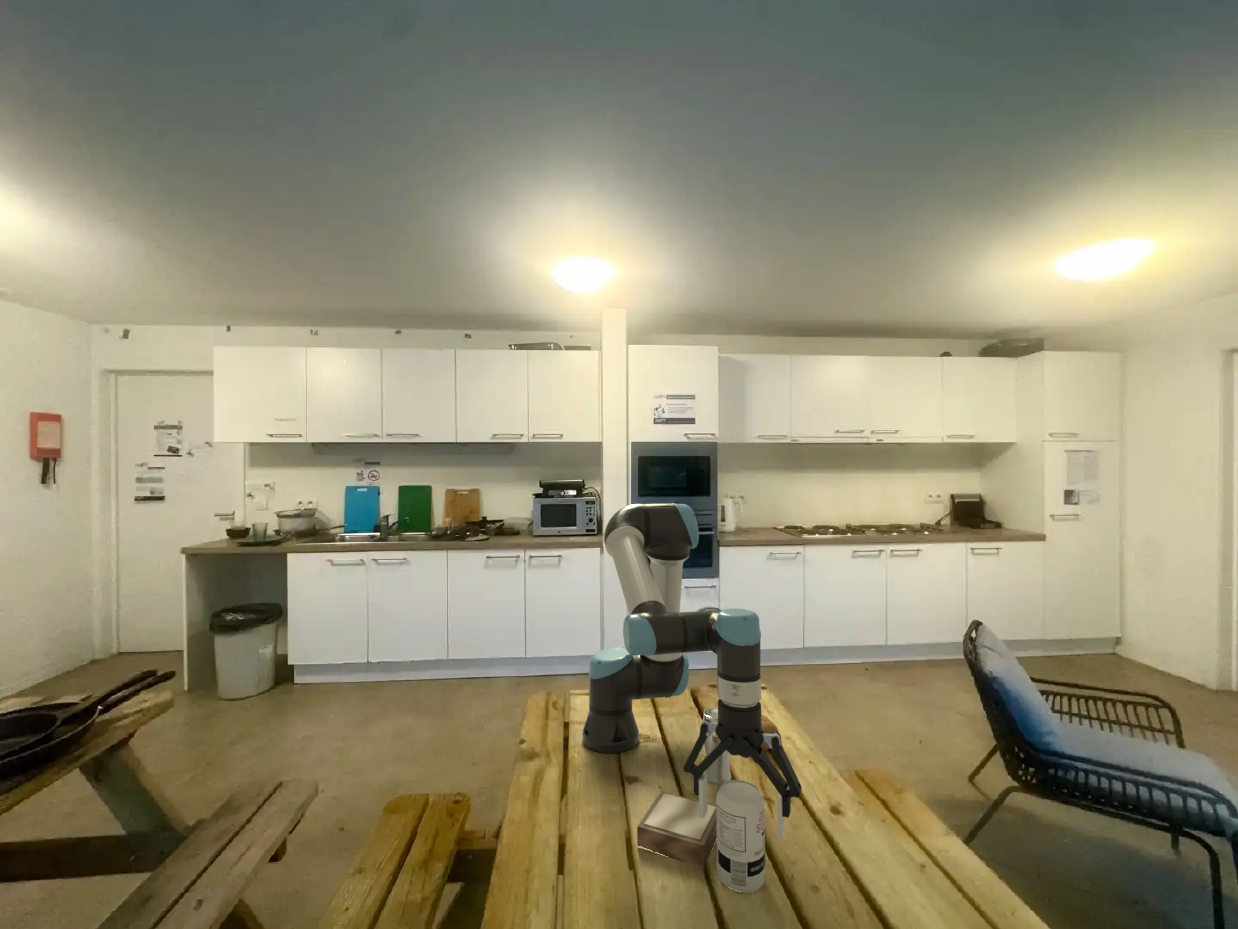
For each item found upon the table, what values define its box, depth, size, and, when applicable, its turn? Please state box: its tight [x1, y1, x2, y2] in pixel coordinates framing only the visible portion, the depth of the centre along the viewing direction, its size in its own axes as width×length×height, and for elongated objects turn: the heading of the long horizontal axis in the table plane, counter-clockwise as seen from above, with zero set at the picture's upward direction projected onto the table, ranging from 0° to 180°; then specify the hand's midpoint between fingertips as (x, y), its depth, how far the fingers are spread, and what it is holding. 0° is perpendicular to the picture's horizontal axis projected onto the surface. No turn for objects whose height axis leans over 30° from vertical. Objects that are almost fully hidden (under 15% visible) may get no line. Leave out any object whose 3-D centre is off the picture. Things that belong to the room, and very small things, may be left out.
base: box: [636, 790, 717, 869], centre depth 105 cm, size 13×13×4 cm
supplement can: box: [715, 779, 766, 894], centre depth 95 cm, size 8×8×15 cm
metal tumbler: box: [702, 706, 732, 785], centre depth 127 cm, size 7×7×15 cm
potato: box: [761, 714, 780, 751], centre depth 142 cm, size 10×14×8 cm
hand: (741, 824), depth 94 cm, fingers open, 13 cm apart
